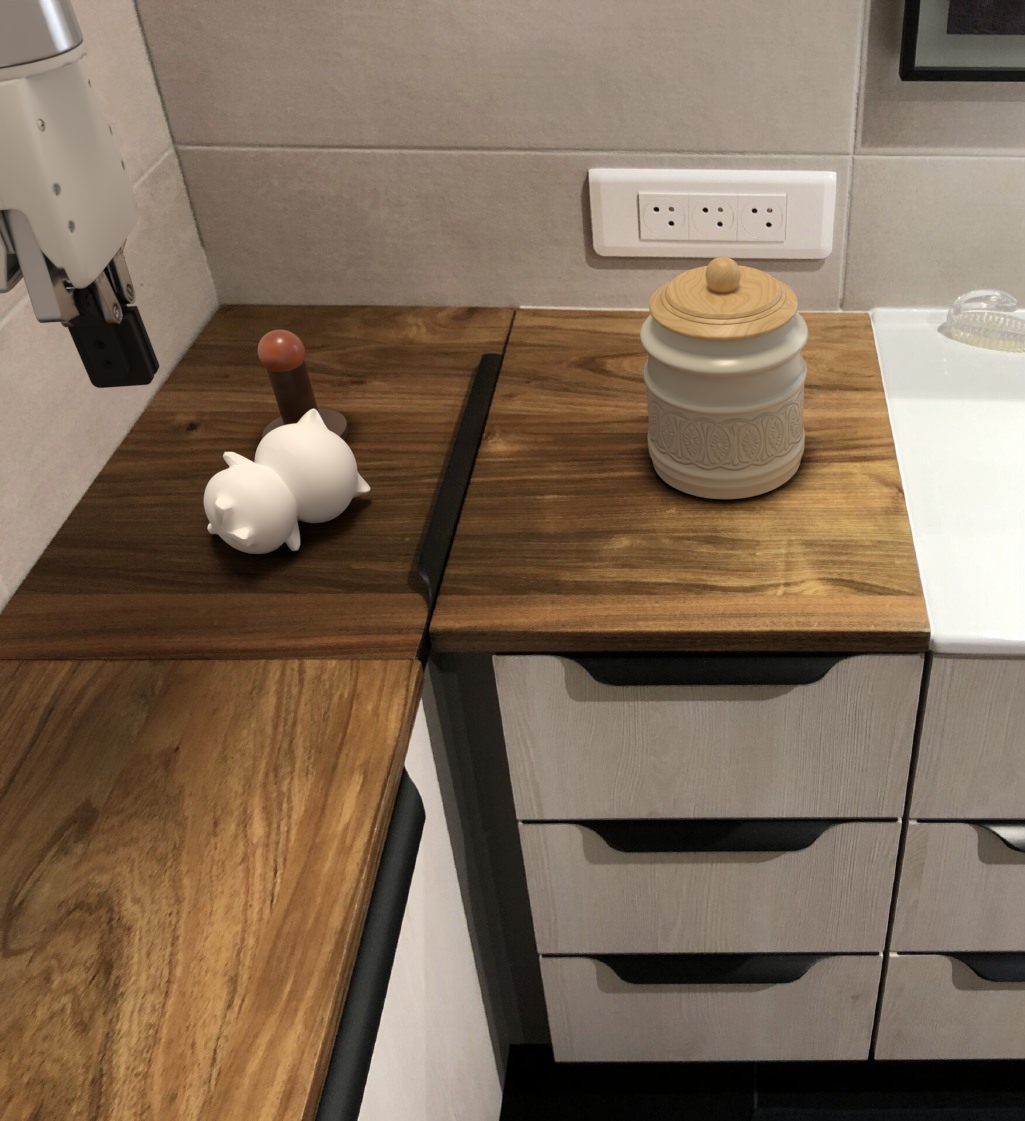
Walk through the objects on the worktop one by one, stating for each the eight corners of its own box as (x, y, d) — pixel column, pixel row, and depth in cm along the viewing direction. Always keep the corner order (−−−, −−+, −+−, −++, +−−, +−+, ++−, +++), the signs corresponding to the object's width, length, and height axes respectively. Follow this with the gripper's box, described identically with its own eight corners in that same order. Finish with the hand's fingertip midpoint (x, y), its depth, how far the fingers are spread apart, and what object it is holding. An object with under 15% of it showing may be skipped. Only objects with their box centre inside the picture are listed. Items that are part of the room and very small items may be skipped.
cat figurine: (197, 470, 77) (332, 388, 84) (146, 496, 84) (275, 418, 92) (276, 575, 79) (400, 486, 87) (220, 591, 87) (339, 508, 94)
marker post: (283, 469, 93) (248, 362, 87) (251, 434, 98) (216, 329, 91) (362, 439, 97) (334, 334, 91) (328, 407, 101) (300, 304, 95)
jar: (776, 517, 88) (779, 309, 77) (624, 486, 91) (605, 283, 80) (822, 431, 97) (831, 235, 86) (683, 406, 101) (673, 215, 90)
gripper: (-35, -8, 57) (99, 322, 69) (-184, 80, 45) (7, 458, 57) (121, -13, 58) (227, 314, 69) (12, 71, 46) (161, 447, 58)
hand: (127, 378), depth 63 cm, fingers closed
